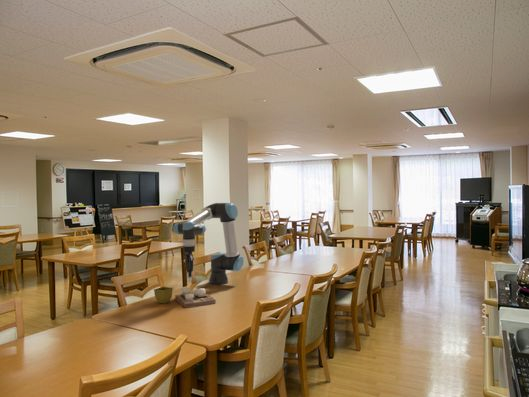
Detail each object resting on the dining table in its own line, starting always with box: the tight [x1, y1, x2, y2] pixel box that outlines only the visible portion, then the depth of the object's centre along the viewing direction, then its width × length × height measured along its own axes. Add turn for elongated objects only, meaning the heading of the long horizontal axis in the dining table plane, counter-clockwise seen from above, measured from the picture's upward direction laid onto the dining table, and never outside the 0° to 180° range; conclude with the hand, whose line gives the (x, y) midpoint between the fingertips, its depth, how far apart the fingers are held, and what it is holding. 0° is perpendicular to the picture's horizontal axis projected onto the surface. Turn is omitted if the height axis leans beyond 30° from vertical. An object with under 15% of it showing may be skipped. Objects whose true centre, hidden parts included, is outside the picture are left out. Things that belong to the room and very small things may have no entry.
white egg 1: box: [181, 286, 191, 295], centre depth 263 cm, size 6×6×4 cm
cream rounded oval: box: [185, 292, 194, 300], centre depth 256 cm, size 6×6×4 cm
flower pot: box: [153, 286, 174, 304], centre depth 256 cm, size 9×9×9 cm
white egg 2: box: [197, 287, 206, 297], centre depth 260 cm, size 6×6×4 cm
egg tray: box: [174, 292, 216, 309], centre depth 259 cm, size 24×20×3 cm
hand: (189, 281), depth 256 cm, fingers closed
